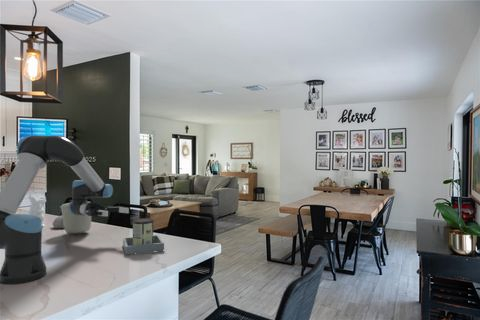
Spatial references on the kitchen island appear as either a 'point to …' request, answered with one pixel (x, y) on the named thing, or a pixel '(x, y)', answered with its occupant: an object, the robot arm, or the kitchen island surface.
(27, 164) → the robot arm
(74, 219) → the canister
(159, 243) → the grey square tray
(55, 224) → the sea urchin shell
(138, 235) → the coffee can
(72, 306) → the kitchen island surface
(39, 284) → the kitchen island surface
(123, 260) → the kitchen island surface
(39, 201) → the cherub figurine
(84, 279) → the kitchen island surface
